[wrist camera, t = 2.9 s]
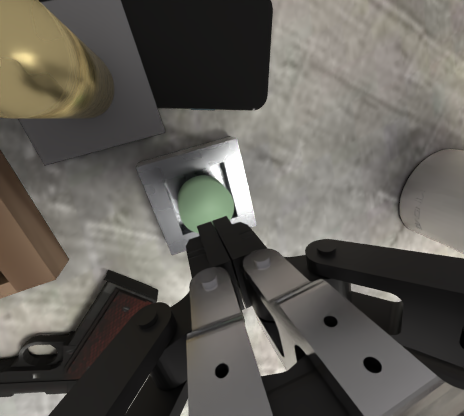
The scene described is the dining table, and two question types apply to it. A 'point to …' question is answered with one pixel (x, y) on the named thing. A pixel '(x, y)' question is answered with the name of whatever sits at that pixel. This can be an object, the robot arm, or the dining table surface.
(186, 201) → the button
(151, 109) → the mat
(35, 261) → the brown wooden rectangular frame
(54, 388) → the handgun
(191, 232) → the button housing
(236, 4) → the smartphone
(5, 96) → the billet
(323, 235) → the dining table surface
